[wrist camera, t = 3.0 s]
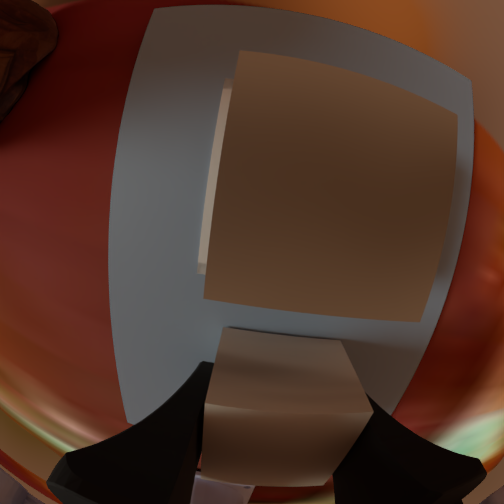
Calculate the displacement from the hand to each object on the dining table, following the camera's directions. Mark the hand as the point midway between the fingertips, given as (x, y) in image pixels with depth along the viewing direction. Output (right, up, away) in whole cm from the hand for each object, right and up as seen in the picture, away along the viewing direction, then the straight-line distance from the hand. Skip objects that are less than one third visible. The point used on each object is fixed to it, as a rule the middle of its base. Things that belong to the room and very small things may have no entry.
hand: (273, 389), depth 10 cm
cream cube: (0, 0, +1) cm, 1 cm away
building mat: (+1, +5, 0) cm, 5 cm away
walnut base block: (+1, +7, -1) cm, 8 cm away
